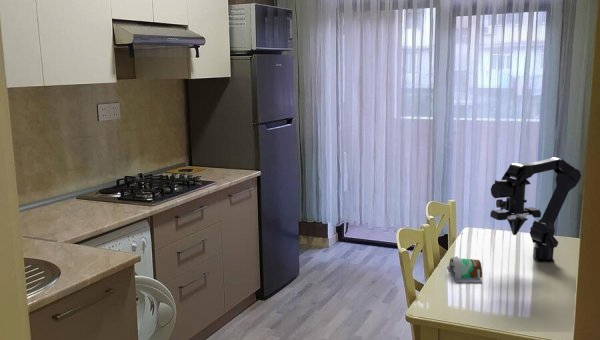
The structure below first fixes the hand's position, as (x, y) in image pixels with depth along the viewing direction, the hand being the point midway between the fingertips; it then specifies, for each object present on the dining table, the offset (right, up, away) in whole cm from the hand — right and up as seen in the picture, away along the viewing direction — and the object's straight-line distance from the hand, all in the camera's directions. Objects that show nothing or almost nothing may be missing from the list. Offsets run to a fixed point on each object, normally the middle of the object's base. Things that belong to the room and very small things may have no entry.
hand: (514, 234), depth 222 cm
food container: (-17, -10, -9) cm, 22 cm away
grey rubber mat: (-22, -14, -9) cm, 28 cm away
